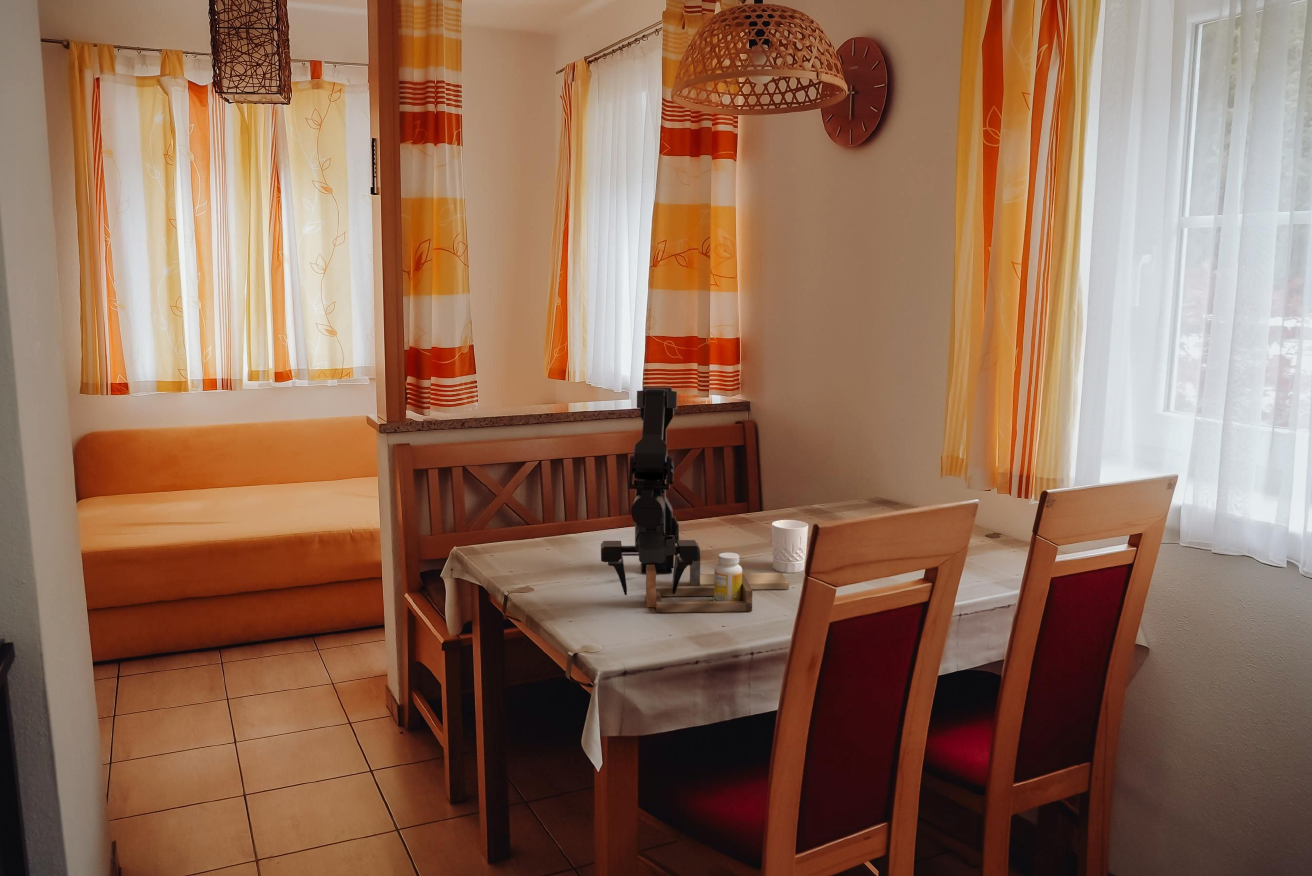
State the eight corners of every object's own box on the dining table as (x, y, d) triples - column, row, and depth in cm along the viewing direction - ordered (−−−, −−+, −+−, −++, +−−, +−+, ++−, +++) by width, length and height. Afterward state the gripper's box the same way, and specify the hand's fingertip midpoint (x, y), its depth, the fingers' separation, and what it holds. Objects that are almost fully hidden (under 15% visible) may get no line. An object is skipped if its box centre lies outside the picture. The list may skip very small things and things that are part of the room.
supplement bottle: (715, 607, 187) (716, 558, 185) (712, 598, 192) (713, 551, 191) (743, 607, 187) (744, 558, 186) (739, 598, 192) (740, 551, 191)
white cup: (805, 575, 209) (807, 529, 207) (768, 572, 210) (770, 527, 209) (807, 565, 216) (809, 520, 215) (772, 562, 218) (773, 519, 216)
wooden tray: (648, 612, 183) (648, 576, 182) (645, 594, 194) (645, 560, 193) (752, 611, 184) (752, 575, 183) (743, 593, 195) (744, 559, 194)
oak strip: (692, 589, 197) (693, 556, 196) (689, 579, 204) (689, 547, 203) (788, 588, 198) (789, 555, 197) (782, 578, 205) (783, 546, 204)
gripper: (601, 525, 177) (601, 608, 180) (703, 524, 179) (702, 607, 181) (600, 511, 188) (600, 589, 191) (697, 511, 190) (696, 588, 192)
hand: (649, 594), depth 188 cm, fingers open, 9 cm apart
